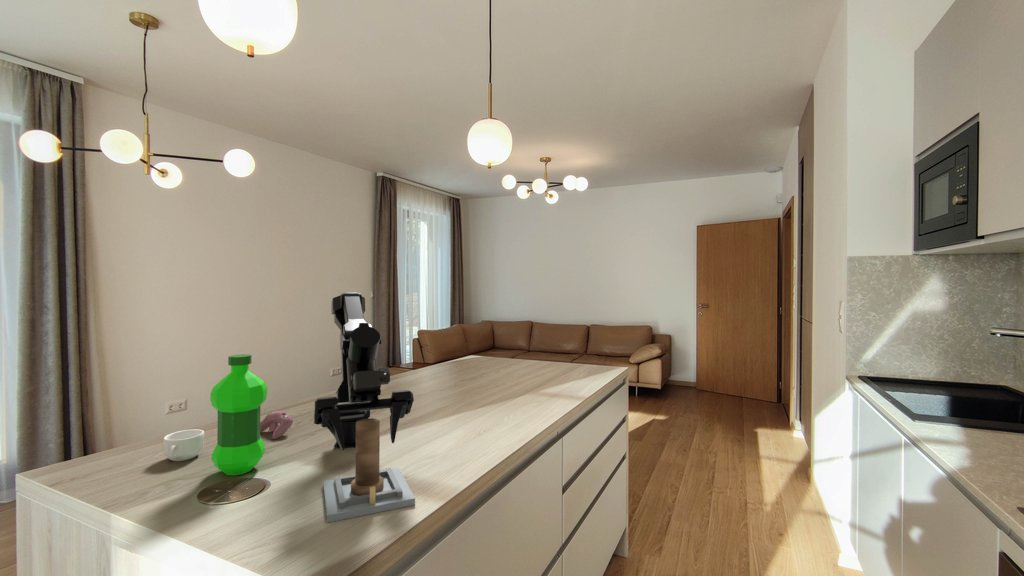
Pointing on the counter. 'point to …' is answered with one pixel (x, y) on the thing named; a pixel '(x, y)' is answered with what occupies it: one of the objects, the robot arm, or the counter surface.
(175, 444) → the teacup
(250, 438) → the plastic bottle
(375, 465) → the flanged spindle
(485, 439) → the counter surface
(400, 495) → the base plate
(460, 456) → the counter surface
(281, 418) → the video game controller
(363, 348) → the robot arm
